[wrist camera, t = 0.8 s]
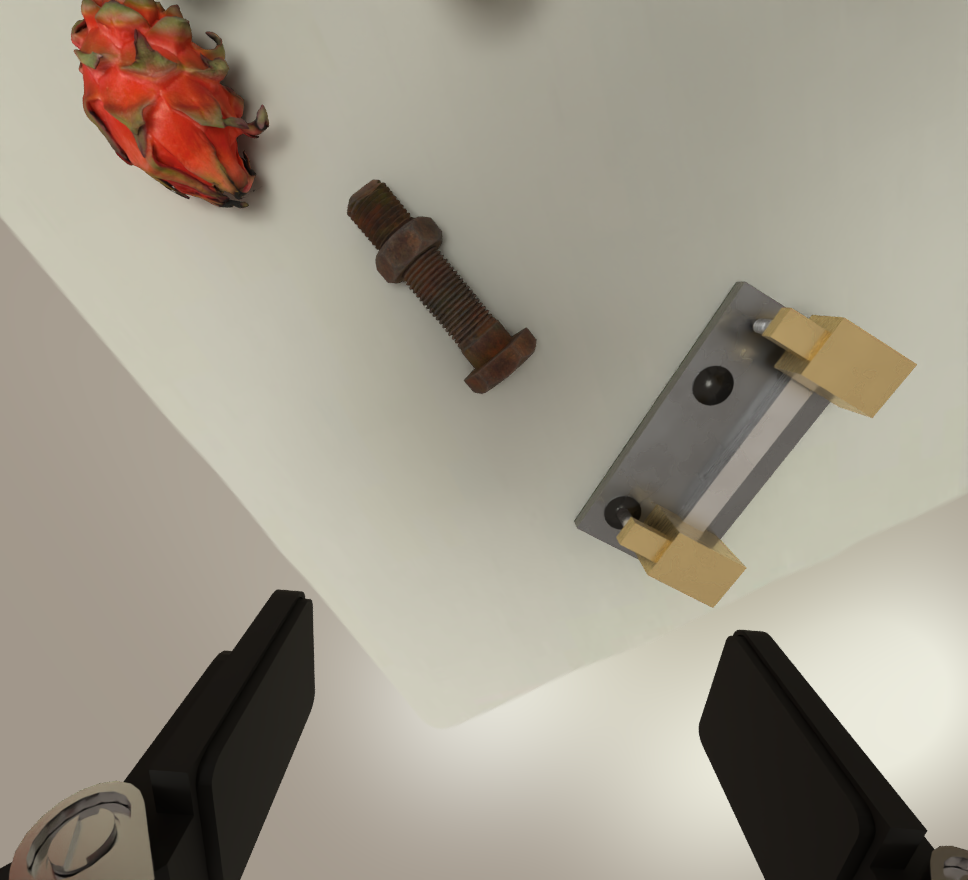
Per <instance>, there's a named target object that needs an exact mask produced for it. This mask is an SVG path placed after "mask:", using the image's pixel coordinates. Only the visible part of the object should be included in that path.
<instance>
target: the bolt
mask: <svg viewBox="0 0 968 880" xmlns="http://www.w3.org/2000/svg"><path fill="white" fill-rule="evenodd" d="M347 215H348V216H349V217H351V220H352V221H354V222H355V224H357V225H358V228H359V229H361V230H362V232H363V233H365V236H366V237H369V238H368V240H369V241H372V245H375V246H376V247H375V248H376V249H377V250H379V252H378V254H377V255H376V267H377V270H378V272H379V273H380V274H381V275H382V276H383V277H384V279H385V280H386V281H387V282H388V283H400V282H401V281H404V282H407V283H406V285H407V286H410V289H413V293H417V295H416V297H420V301H423V305H427V307H426V309H430V313H433V317H436V316H437V317H436V320H440V322H439V324H443V328H446V332H449V336H451V335H453V336H452V340H453V339H456V340H455V343H459V344H458V347H459V348H460V349H461V351H462V353H463V355H464V356H465V357H466V358H467V359H468V361H469V362H470V363H471V364H472V365H473V367H474V368H475V369H474V370H473V371H472V372H471V373H470V374H469V375H468V376H467V377H466V378H465V380H464V381H465V383H466V384H467V385H468V386H469V387H470V388H471V390H472V391H473V392H475V393H479V394H483V393H486V392H487V391H489V390H490V389H492V388H493V387H495V386H496V385H497V384H499V383H500V382H502V381H503V380H504V379H506V378H507V377H508V376H509V375H511V374H512V373H513V372H514V371H515V370H516V369H517V368H518V367H519V366H520V365H522V364H523V363H524V362H525V361H526V360H527V359H528V358H529V357H530V356H531V355H532V354H533V352H534V350H535V347H536V339H535V337H534V336H533V335H532V334H531V332H530V331H529V330H528V328H525V329H523V330H522V331H520V332H518V333H517V334H515V335H514V336H512V337H511V336H510V334H509V333H508V332H507V331H506V329H505V328H504V327H503V326H502V325H501V323H500V322H499V321H498V320H496V319H495V318H494V317H492V314H488V312H489V311H488V310H485V308H486V307H485V306H483V307H482V304H483V303H482V302H481V303H478V302H479V299H475V297H476V294H472V292H473V291H472V290H469V288H470V287H469V286H468V287H466V283H462V282H463V279H459V278H460V275H456V273H457V271H453V267H450V263H446V262H447V259H443V256H444V255H440V251H437V249H438V248H439V246H440V245H441V243H442V231H441V230H440V229H439V227H438V226H437V225H436V224H435V222H434V221H433V220H432V219H431V218H429V217H416V218H414V219H413V217H410V213H407V210H406V209H403V205H402V204H400V201H399V200H396V196H394V195H393V193H392V191H390V189H389V187H386V185H385V183H381V182H380V180H372V181H370V182H369V183H368V184H366V185H365V186H363V187H362V188H361V189H360V190H358V191H357V192H356V193H354V194H353V195H352V196H351V198H350V199H349V204H348V209H347Z"/></svg>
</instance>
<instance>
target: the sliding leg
mask: <svg viewBox="0 0 968 880" xmlns="http://www.w3.org/2000/svg"><path fill="white" fill-rule="evenodd" d="M753 330H754V331H755V332H756V333H760V334H762V336H763V337H765V338H767V339H768V340H770V341H772V342H773V343H775V344H776V345H778V346H780V347H781V348H783V349H784V350H786V351H785V352H784V353H783V355H782V356H781V357H780V359H779V360H778V361H777V363H776V364H775V365H774V368H776V369H778V370H779V371H781V372H782V373H784V374H786V375H787V376H789V377H791V378H792V379H794V380H796V381H797V382H799V383H801V384H802V385H804V386H805V387H807V388H809V389H810V390H812V391H814V392H815V393H817V394H819V395H820V396H822V397H824V398H825V399H827V400H828V401H830V402H832V403H833V404H835V405H837V406H838V407H841V408H844V409H847V410H850V411H853V412H856V413H859V414H862V415H865V416H868V417H871V418H873V417H874V415H875V414H876V413H877V412H878V411H879V409H880V408H881V407H882V406H883V405H884V403H885V402H886V401H887V400H888V399H889V398H890V396H891V395H892V394H893V393H894V392H895V390H896V389H897V388H898V387H899V386H900V384H901V383H902V382H903V381H904V380H905V378H906V377H907V376H908V375H909V374H910V372H911V371H912V370H913V369H914V368H915V367H916V365H917V364H915V363H914V362H912V361H911V360H909V359H908V358H906V357H905V356H903V355H902V354H900V353H898V352H897V351H895V350H894V349H892V348H891V347H889V346H888V345H886V344H885V343H883V342H881V341H880V340H878V339H877V338H875V337H874V336H872V335H871V334H869V333H867V332H866V331H864V330H863V329H861V328H860V327H858V326H857V325H855V324H854V323H852V322H850V321H849V320H847V319H846V318H843V317H830V316H817V315H812V316H811V317H810V318H809V319H808V318H806V317H805V316H803V315H802V314H800V313H799V312H797V311H795V310H794V309H792V308H784V307H782V308H781V309H780V310H779V312H778V313H777V314H776V316H775V317H774V319H773V320H770V319H758V320H757V321H755V323H754V325H753Z"/></svg>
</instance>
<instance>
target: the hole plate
mask: <svg viewBox="0 0 968 880" xmlns="http://www.w3.org/2000/svg"><path fill="white" fill-rule="evenodd" d="M782 307H784V306H783V305H781V304H780V303H778V302H776V301H775V300H773V299H772V298H770V297H769V296H767V295H765V294H764V293H762V292H761V291H759V290H758V289H756V288H754V287H753V286H751V285H750V284H748V283H746V282H736V284H735V285H734V287H733V288H732V290H731V291H730V293H729V294H728V296H727V297H726V299H725V300H724V302H723V303H722V305H721V306H720V307H719V309H718V310H717V312H716V313H715V315H714V316H713V318H712V319H711V321H710V322H709V324H708V325H707V327H706V328H705V330H704V331H703V333H702V334H701V335H700V337H699V338H698V340H697V341H696V343H695V344H694V346H693V347H692V349H691V350H690V352H689V353H688V355H687V356H686V358H685V359H684V361H683V362H682V363H681V365H680V366H679V368H678V369H677V371H676V372H675V374H674V375H673V377H672V378H671V380H670V381H669V383H668V384H667V386H666V387H665V389H664V390H663V391H662V393H661V394H660V396H659V397H658V399H657V400H656V402H655V403H654V405H653V406H652V408H651V409H650V411H649V412H648V414H647V415H646V417H645V418H644V419H643V421H642V422H641V424H640V425H639V427H638V428H637V430H636V431H635V433H634V434H633V436H632V437H631V439H630V440H629V442H628V443H627V445H626V446H625V447H624V449H623V450H622V452H621V453H620V455H619V456H618V458H617V459H616V461H615V462H614V464H613V465H612V467H611V468H610V470H609V471H608V473H607V474H606V475H605V477H604V478H603V480H602V481H601V483H600V484H599V486H598V487H597V489H596V490H595V492H594V493H593V495H592V496H591V498H590V499H589V500H588V502H587V503H586V505H585V506H584V508H583V509H582V511H581V512H580V514H579V515H578V517H577V518H576V520H575V524H576V527H577V528H578V529H580V530H582V531H584V532H586V533H588V534H590V535H592V536H593V537H595V538H597V539H599V540H601V541H603V542H605V543H607V544H609V545H611V546H613V547H615V548H617V549H619V550H621V551H623V552H625V553H627V554H629V555H631V556H633V557H635V558H637V559H639V561H640V562H641V564H642V566H643V568H644V569H645V571H646V573H647V575H649V576H651V577H653V578H655V579H657V580H659V581H661V582H663V583H665V584H667V585H669V586H671V587H673V588H675V589H677V590H678V591H680V592H682V593H684V594H686V595H688V596H690V597H692V598H694V599H696V600H698V601H700V602H702V603H704V604H706V605H708V606H710V607H712V608H713V607H714V606H715V605H716V604H717V603H718V601H719V600H720V599H721V598H722V597H723V595H724V594H725V593H726V592H727V591H728V589H729V588H730V587H731V586H732V585H733V584H734V582H735V581H736V580H737V579H738V578H739V576H740V575H741V574H742V573H743V572H744V570H745V569H746V567H745V566H744V565H743V564H742V562H741V561H740V560H739V559H738V558H737V557H736V556H735V555H734V554H733V553H732V552H731V551H730V550H729V549H728V547H727V546H726V545H725V544H724V543H723V542H722V541H721V540H720V539H721V538H722V537H723V535H724V534H725V533H726V532H727V530H728V529H729V528H730V527H731V525H732V524H733V523H734V522H735V520H736V519H737V518H738V517H739V515H740V514H741V513H742V512H743V510H744V509H745V508H746V507H747V505H748V504H749V503H750V502H751V500H752V499H753V498H754V497H755V495H756V494H757V493H758V492H759V490H760V489H761V488H762V487H763V485H764V484H765V483H766V482H767V480H768V479H769V478H770V477H771V475H772V474H773V473H774V472H775V470H776V469H777V468H778V467H779V465H780V464H781V463H782V462H783V460H784V459H785V458H786V457H787V455H788V454H789V453H790V452H791V450H792V449H793V448H794V447H795V445H796V444H797V443H798V442H799V440H800V439H801V438H802V437H803V435H804V434H805V433H806V432H807V430H808V429H809V428H810V427H811V425H812V424H813V423H814V422H815V420H816V419H817V418H818V417H819V415H820V414H821V413H822V412H823V410H824V409H825V408H826V407H827V405H828V404H829V403H830V401H828V400H827V399H825V398H824V397H822V396H820V395H819V394H817V393H815V392H814V391H812V390H810V389H809V388H807V387H805V386H804V385H802V384H801V383H799V382H797V381H796V380H794V379H792V378H791V377H789V376H787V375H786V374H784V373H782V372H781V371H779V370H778V369H776V368H774V365H775V364H776V363H777V361H778V360H779V359H780V357H781V356H782V355H783V353H784V352H785V351H786V350H784V349H783V348H781V347H780V346H778V345H776V344H775V343H773V342H772V341H770V340H768V339H767V338H765V337H763V336H762V334H760V333H756V332H755V331H754V330H753V325H754V323H755V321H757V320H758V319H770V320H773V319H774V317H775V316H776V314H777V313H778V312H779V310H780V309H781V308H782ZM784 308H786V307H784Z"/></svg>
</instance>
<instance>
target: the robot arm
mask: <svg viewBox="0 0 968 880" xmlns="http://www.w3.org/2000/svg"><path fill="white" fill-rule="evenodd" d="M314 679H315V678H314V639H313V604H312V600H311V599H305V594H304V592H300V591H289V590H276V591H275V592H274V593H273V594H272V595H271V597H270V598H269V600H268V601H267V603H266V604H265V605H264V607H263V608H262V610H261V611H260V612H259V614H258V615H257V617H256V618H255V619H254V621H253V622H252V624H251V625H250V627H249V628H248V629H247V631H246V632H245V634H244V635H243V637H242V638H241V639H240V641H239V642H238V644H237V645H236V647H235V648H234V649H233V651H223V652H221V653H219V654H218V655H217V657H216V658H215V659H214V660H213V661H212V663H211V664H210V665H209V667H208V668H207V669H206V671H205V672H204V674H203V675H202V676H201V678H200V679H199V680H198V682H197V683H196V684H195V686H194V687H193V688H192V690H191V691H190V692H189V694H188V695H187V696H186V698H185V699H184V701H183V702H182V703H181V705H180V706H179V707H178V709H177V710H176V711H175V713H174V714H173V716H172V717H171V718H170V720H169V721H168V722H167V724H166V725H165V726H164V728H163V729H162V730H161V732H160V733H159V735H158V736H157V737H156V739H155V740H154V741H153V743H152V744H151V745H150V747H149V748H148V749H147V751H146V752H145V753H144V755H143V756H142V758H141V759H140V760H139V762H138V763H137V764H136V766H135V767H134V768H133V770H132V771H131V773H130V774H129V775H128V777H127V778H126V779H125V781H124V782H119V781H113V782H106V783H99V784H97V785H94V786H91V787H88V788H85V789H83V790H80V791H79V792H77V793H75V794H74V795H71V796H70V797H68V798H66V799H64V800H63V801H61V802H60V803H58V804H57V805H56V806H55V807H54V808H52V809H51V810H50V811H48V812H47V813H46V814H44V815H43V816H42V817H41V818H40V819H39V820H38V822H37V823H36V824H35V825H34V826H33V827H32V828H31V829H30V830H29V831H28V832H27V833H26V835H25V837H24V838H23V840H22V841H21V843H20V845H19V846H18V848H17V849H16V851H15V854H14V857H13V861H12V862H11V863H9V864H8V865H6V866H4V867H2V868H0V880H240V879H241V876H242V874H243V872H244V869H245V867H246V864H247V862H248V860H249V857H250V855H251V853H252V850H253V848H254V846H255V843H256V841H257V838H258V836H259V833H260V831H261V829H262V826H263V824H264V822H265V819H266V817H267V815H268V812H269V810H270V807H271V805H272V803H273V800H274V798H275V795H276V793H277V790H278V788H279V786H280V783H281V781H282V779H283V776H284V774H285V771H286V769H287V767H288V764H289V762H290V760H291V757H292V755H293V752H294V750H295V748H296V745H297V743H298V741H299V738H300V736H301V733H302V731H303V729H304V726H305V724H306V721H307V719H308V716H309V714H310V712H311V709H312V706H313V702H314V696H315V680H314ZM699 736H700V740H701V743H702V745H703V747H704V750H705V752H706V754H707V756H708V758H709V760H710V762H711V765H712V767H713V769H714V771H715V773H716V775H717V777H718V779H719V782H720V784H721V786H722V788H723V790H724V792H725V795H726V796H727V799H728V801H729V803H730V805H731V807H732V810H733V812H734V814H735V816H736V818H737V820H738V823H739V825H740V827H741V829H742V831H743V833H744V835H745V838H746V840H747V842H748V844H749V846H750V848H751V850H752V852H753V854H754V857H755V859H756V861H757V863H758V865H759V868H760V870H761V872H762V874H763V876H764V878H765V880H968V850H965V849H961V848H958V847H954V846H939V847H938V848H936V849H934V848H933V847H932V846H931V844H930V843H929V842H928V841H927V839H926V838H925V837H924V835H925V834H926V832H927V830H926V828H925V827H924V826H923V825H922V824H921V822H920V821H919V820H918V819H917V817H916V816H915V815H914V813H913V812H912V811H911V810H910V809H909V807H908V806H907V805H906V804H905V802H904V801H903V800H902V799H901V797H900V796H899V795H898V794H897V792H896V791H895V790H894V789H893V787H892V786H891V785H890V784H889V782H888V781H887V780H886V779H885V778H884V776H883V775H882V774H881V773H880V771H879V770H878V769H877V768H876V766H875V765H874V764H873V763H872V762H871V760H870V759H869V758H868V756H867V755H866V754H865V753H864V752H863V750H862V749H861V748H860V747H859V745H858V744H857V743H856V742H855V740H854V739H853V738H852V737H851V735H850V734H849V733H848V732H847V730H846V729H845V728H844V727H843V726H842V724H841V723H840V722H839V720H838V719H837V718H836V717H835V716H834V714H833V713H832V712H831V711H830V710H829V708H828V707H827V706H826V704H825V703H824V702H823V701H822V699H821V698H820V697H819V696H818V694H817V693H816V692H815V691H814V690H813V688H812V687H811V686H810V685H809V683H808V682H807V681H806V680H805V678H804V677H803V676H802V675H801V673H800V672H799V671H798V670H797V668H796V667H795V666H794V665H793V664H792V662H791V661H790V660H789V659H788V657H787V656H786V655H785V654H784V652H783V651H782V650H781V649H780V648H779V646H778V645H777V644H776V642H775V641H774V640H773V639H772V637H771V636H770V635H769V634H767V633H765V632H761V631H750V630H737V631H736V632H735V633H734V634H733V636H729V637H728V638H727V640H726V642H725V645H724V648H723V651H722V655H721V658H720V661H719V664H718V667H717V670H716V673H715V676H714V680H713V682H712V686H711V689H710V692H709V695H708V698H707V701H706V704H705V707H704V710H703V713H702V717H701V720H700V723H699Z"/></svg>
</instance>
